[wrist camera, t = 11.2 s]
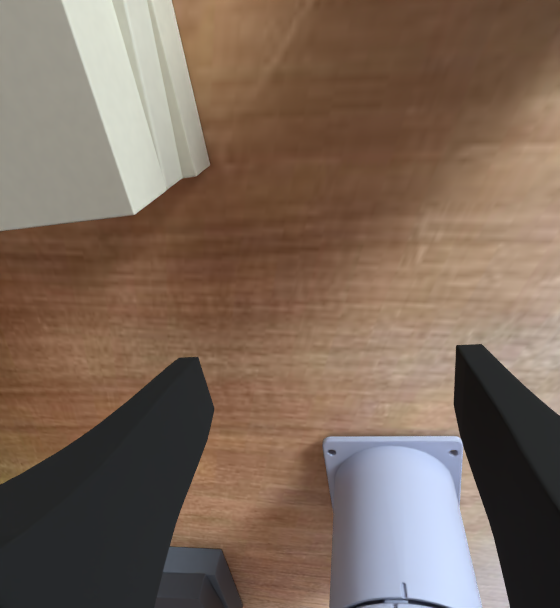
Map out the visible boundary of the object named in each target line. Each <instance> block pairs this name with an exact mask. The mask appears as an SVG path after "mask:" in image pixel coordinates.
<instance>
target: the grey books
mask: <svg viewBox="0 0 560 608" xmlns="http://www.w3.org/2000/svg"><path fill="white" fill-rule="evenodd" d="M154 608H243V604H242V602H241V599H240V597H239V594H238V591H237V589H236V586H235V583H234V581H233V578H232V576H231V573H230V570H229V568H228V565H227V563H226V560H225V557H224V555H223V552H222V550H221V549H204V548H185V547H169V550H168V554H167V558H166V562H165V566H164V570H163V574H162V578H161V582H160V586H159V590H158V594H157V598H156V603H155V607H154Z"/></svg>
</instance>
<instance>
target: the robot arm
mask: <svg viewBox="0 0 560 608" xmlns="http://www.w3.org/2000/svg"><path fill="white" fill-rule="evenodd" d="M454 408H455V413H456V418H457V423H458V428H459V432H460V437H461V439H460V438H459V437H457V436H333V437H326V438H324V440H323V452H324V459H325V465H326V471H327V477H328V483H329V489H330V496H331V502H332V508H333V535H332V558H331V581H330V604H329V608H482V604H481V599H480V595H479V591H478V586H477V582H476V578H475V573H474V569H473V565H472V560H471V556H470V552H469V547H468V543H467V539H466V534H465V530H464V526H463V521H462V517H461V513H460V508H459V506H460V490H461V473H462V457H463V447H464V450H465V453H466V456H467V459H468V461H469V464H470V467H471V470H472V473H473V476H474V479H475V482H476V485H477V488H478V491H479V493H480V496H481V499H482V502H483V505H484V508H485V511H486V514H487V517H488V520H489V523H490V526H491V530H492V533H493V536H494V540H495V544H496V548H497V553H498V557H499V561H500V565H501V569H502V573H503V578H504V582H505V586H506V591H507V595H508V600H509V604H510V608H560V416H559V415H558V414H557V413H555V412H554V411H553V410H552V409H550V408H549V407H548V406H547V405H546V404H545V403H543V402H542V401H541V400H540V399H539V398H538V397H537V396H535V395H534V394H533V393H532V392H531V391H530V390H529V389H528V388H526V387H525V386H524V385H523V384H522V383H521V382H520V381H519V380H518V379H517V378H516V377H515V376H514V375H512V374H511V373H510V372H509V371H508V370H507V369H506V368H505V367H504V366H503V365H502V364H501V363H500V362H499V361H498V360H497V359H496V358H495V357H494V356H493V355H492V354H491V353H490V352H489V351H488V350H487V349H486V348H485V347H484V346H483V345H482V344H475V345H456V364H455V387H454ZM213 413H214V406H213V403H212V399H211V396H210V393H209V390H208V387H207V383H206V380H205V377H204V374H203V371H202V368H201V364H200V361H199V358H198V357H187V358H178V359H177V360H176V361H174V362H173V363H172V364H171V365H169V366H168V367H167V368H166V369H165V370H163V371H162V372H161V373H160V374H159V375H158V376H156V377H155V378H154V379H153V380H152V381H151V382H149V383H148V384H147V385H146V386H145V387H144V388H142V389H141V390H140V391H139V392H138V393H137V394H135V395H134V396H133V397H132V398H131V399H130V400H128V401H127V402H126V403H125V404H123V405H122V406H121V407H120V408H118V409H117V410H116V411H115V412H113V413H112V414H111V415H110V416H108V417H107V418H106V419H104V420H103V421H102V422H101V423H99V424H98V425H97V426H95V427H94V428H93V429H91V430H90V431H89V432H87V433H86V434H84V435H83V436H82V437H80V438H79V439H77V440H76V441H74V442H73V443H71V444H70V445H68V446H67V447H65V448H64V449H62V450H60V451H59V452H57V453H56V454H54V455H52V456H51V457H49V458H47V459H45V460H44V461H42V462H40V463H39V464H37V465H35V466H34V467H32V468H30V469H29V470H27V471H25V472H23V473H22V474H20V475H18V476H16V477H14V478H12V479H10V480H8V481H7V482H5V483H3V484H1V485H0V608H154V607H155V603H156V598H157V594H158V590H159V586H160V582H161V578H162V574H163V570H164V566H165V562H166V558H167V554H168V550H169V547H170V543H171V539H172V536H173V532H174V528H175V525H176V522H177V519H178V516H179V513H180V510H181V508H182V505H183V502H184V500H185V497H186V495H187V492H188V489H189V487H190V484H191V482H192V479H193V476H194V474H195V471H196V469H197V466H198V464H199V461H200V458H201V456H202V453H203V450H204V448H205V445H206V442H207V439H208V435H209V431H210V427H211V422H212V418H213ZM332 450H333V451H332ZM451 450H454V451H451Z"/></svg>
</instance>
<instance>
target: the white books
mask: <svg viewBox="0 0 560 608" xmlns="http://www.w3.org/2000/svg"><path fill="white" fill-rule="evenodd" d="M112 3H113V6H114V10H115V13H116V17H117V20H118V23H119V27H120V30H121V34H122V37H123V41H124V44H125V48H126V51H127V54H128V58H129V61H130V65H131V68H132V72H133V75H134V79H135V82H136V86H137V89H138V92H139V96H140V99H141V103H142V106H143V110H144V113H145V117H146V120H147V123H148V127H149V130H150V134H151V137H152V141H153V144H154V148H155V151H156V155H157V158H158V161H159V165H160V168H161V172H162V175H163V179H164V182H165V186H166V189H167V190H168V189H169V188H170V187H172V186H173V185H174V184H176V183H177V182H178V181H180V180H181V179H182V178H190V177H196V176H197V175H199V174H200V173H201V172H202V171H204V170H205V169H206V168H207V167H209V166H210V162H209V158H208V154H207V149H206V145H205V141H204V137H203V132H202V128H201V124H200V120H199V115H198V111H197V107H196V103H195V98H194V94H193V90H192V86H191V81H190V77H189V73H188V68H187V64H186V60H185V56H184V51H183V47H182V43H181V39H180V34H179V30H178V26H177V22H176V17H175V13H174V9H173V5H172V0H112Z"/></svg>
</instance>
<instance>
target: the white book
mask: <svg viewBox="0 0 560 608" xmlns="http://www.w3.org/2000/svg"><path fill="white" fill-rule="evenodd" d="M165 191H167V189H166V186H165V182H164V179H163V175H162V172H161V168H160V165H159V161H158V158H157V155H156V151H155V148H154V144H153V141H152V137H151V134H150V130H149V127H148V123H147V120H146V117H145V113H144V110H143V106H142V103H141V99H140V96H139V92H138V89H137V86H136V82H135V79H134V75H133V72H132V68H131V65H130V61H129V58H128V54H127V51H126V48H125V44H124V41H123V37H122V34H121V30H120V27H119V23H118V20H117V17H116V13H115V10H114V6H113V3H112V0H0V231H7V230H16V229H24V228H32V227H40V226H49V225H57V224H65V223H73V222H82V221H90V220H98V219H106V218H115V217H123V216H131V215H135V214H136V213H138V212H139V211H140V210H142V209H143V208H144V207H146V206H147V205H148V204H150V203H151V202H152V201H154V200H155V199H156V198H158V197H159V196H160V195H162V194H163V193H164V192H165Z"/></svg>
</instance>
